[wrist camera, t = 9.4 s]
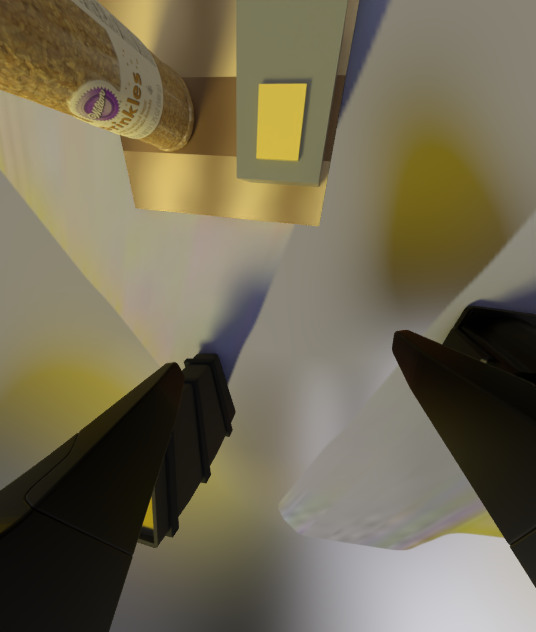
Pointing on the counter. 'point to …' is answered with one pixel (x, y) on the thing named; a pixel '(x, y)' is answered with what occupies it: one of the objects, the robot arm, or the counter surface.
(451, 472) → the counter surface
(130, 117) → the sprinkles bottle
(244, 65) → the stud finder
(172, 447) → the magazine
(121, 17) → the plywood board
